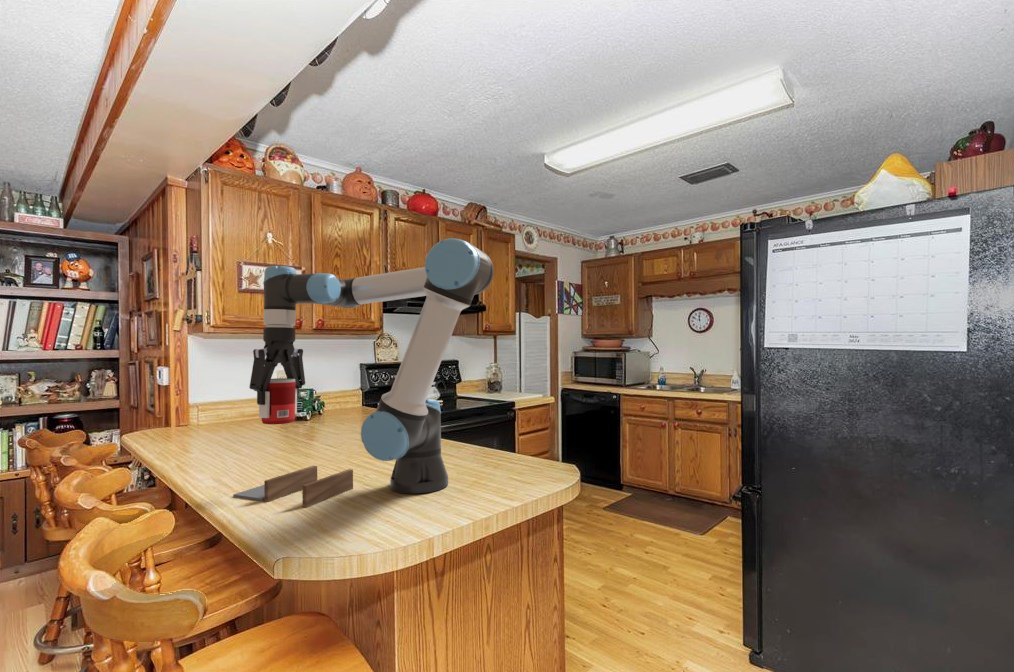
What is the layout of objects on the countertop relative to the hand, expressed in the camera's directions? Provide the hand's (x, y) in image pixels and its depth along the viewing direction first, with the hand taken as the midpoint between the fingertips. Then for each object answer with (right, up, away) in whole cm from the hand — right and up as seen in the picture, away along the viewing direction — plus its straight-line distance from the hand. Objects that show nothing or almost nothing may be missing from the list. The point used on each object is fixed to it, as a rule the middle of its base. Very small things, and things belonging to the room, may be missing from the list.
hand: (278, 415), depth 126 cm
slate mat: (-4, -20, 0) cm, 20 cm away
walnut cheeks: (+9, -20, -2) cm, 22 cm away
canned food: (0, -2, 0) cm, 2 cm away
